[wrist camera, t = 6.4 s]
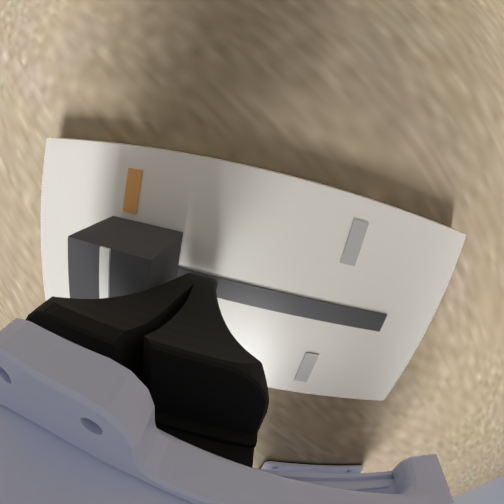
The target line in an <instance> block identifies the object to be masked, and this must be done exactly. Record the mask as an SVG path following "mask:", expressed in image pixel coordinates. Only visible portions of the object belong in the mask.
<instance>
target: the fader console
mask: <svg viewBox="0 0 504 504" xmlns="http://www.w3.org/2000/svg"><path fill="white" fill-rule="evenodd" d="M112 216H116V217H121V218H125V219H129V220H133V221H138V222H142V223H146V224H150V225H155V226H159V227H163V228H167V229H171V230H176V231H180V232H183V237H182V243H181V250H180V256H179V263H178V271H177V278H178V277H180V276H182V275H184V274H187V273H192V274H195V275H199V276H203V277H207V278H211V279H215V280H216V281H217V282H218V285H217V290H216V293H217V299H218V304H219V308H220V311H221V314H222V316H223V319H224V321H225V323H226V325H227V327H228V329H229V330H230V332H231V334H232V335H233V336H234V338H235V339H236V340H237V341H238V343H239V344H240V345H241V346H242V347H243V348H244V349H245V350H246V351H248V352H249V353H250V354H251V355H253V356H254V357H255V358H257V359H258V360H259V361H260V362H261V363H262V365H263V369H264V372H265V376H266V381H267V387H269V388H274V389H280V390H286V391H292V392H299V393H306V394H314V395H322V396H330V397H340V398H351V399H363V400H380V401H384V400H385V398H386V397H387V396H388V394H389V393H390V391H391V390H392V388H393V387H394V385H395V383H396V382H397V380H398V379H399V377H400V376H401V374H402V372H403V371H404V369H405V368H406V366H407V364H408V363H409V361H410V359H411V357H412V356H413V354H414V352H415V350H416V349H417V347H418V345H419V343H420V341H421V340H422V338H423V336H424V334H425V332H426V330H427V328H428V326H429V324H430V322H431V320H432V318H433V316H434V314H435V312H436V310H437V308H438V306H439V304H440V302H441V299H442V297H443V295H444V293H445V290H446V288H447V286H448V283H449V281H450V279H451V276H452V274H453V271H454V269H455V266H456V263H457V261H458V258H459V255H460V253H461V250H462V247H463V244H464V241H465V238H466V235H465V234H463V233H461V232H459V231H457V230H455V229H453V228H451V227H449V226H446V225H444V224H441V223H438V222H436V221H433V220H431V219H428V218H425V217H423V216H420V215H417V214H415V213H412V212H409V211H406V210H404V209H401V208H398V207H395V206H392V205H389V204H386V203H383V202H380V201H377V200H374V199H371V198H368V197H365V196H362V195H358V194H355V193H352V192H349V191H345V190H342V189H339V188H335V187H332V186H328V185H325V184H321V183H318V182H314V181H311V180H307V179H303V178H299V177H296V176H292V175H288V174H284V173H280V172H276V171H272V170H267V169H263V168H259V167H255V166H250V165H246V164H241V163H236V162H232V161H227V160H222V159H217V158H212V157H207V156H201V155H196V154H190V153H185V152H179V151H173V150H167V149H160V148H154V147H147V146H139V145H132V144H124V143H116V142H107V141H97V140H86V139H74V138H47V142H46V149H45V158H44V167H43V178H42V194H41V255H42V270H43V282H44V291H45V299H46V301H47V300H48V299H49V298H51V297H52V296H54V297H63V298H70V292H69V276H68V236H69V235H72V234H74V233H76V232H78V231H80V230H82V229H84V228H87V227H89V226H91V225H93V224H96V223H98V222H100V221H102V220H105V219H107V218H109V217H112Z"/></svg>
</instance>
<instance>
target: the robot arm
mask: <svg viewBox="0 0 504 504" xmlns="http://www.w3.org/2000/svg"><path fill="white" fill-rule="evenodd" d="M217 285H218V282H217V281H216V280H215V279H211V278H207V277H203V276H199V275H195V274H192V273H187V274H184V275H182V276H180V277H178V278H175V279H173V280H171V281H169V282H166V283H164V284H162V285H159V286H156V287H153V288H151V289H148V290H145V291H142V292H138V293H134V294H129V295H125V296H118V297H110V298H101V299H74V298H63V297H54V296H52V297H51V298H49V299H48V300H47V301H46V302H44V303H43V304H42V305H40V306H39V307H38V308H37V309H35V310H34V311H33V312H31V313H30V314H29V315H28V317H27V318H26V320H23V319H18V318H16V319H15V320H13V321H12V322H11V323H10V324H8V325H7V326H6V327H5V328H3V329H2V330H1V331H0V504H454V502H453V499H452V496H451V493H450V490H449V488H448V485H447V482H446V479H445V476H444V474H443V471H442V468H441V466H440V463H439V460H438V458H437V455H436V454H429V455H423V456H415V457H410V458H407V459H405V460H403V461H402V462H400V463H399V464H398V465H397V466H396V467H395V468H394V470H393V471H387V472H375V473H360V472H361V471H362V470H363V466H362V465H349V466H336V465H308V464H294V463H283V462H274V461H267V462H265V463H264V464H263V466H262V467H261V469H258V468H252V465H253V454H254V447H255V446H256V443H257V432H258V430H259V428H260V426H261V424H262V422H263V419H264V417H265V415H266V413H267V409H268V404H269V395H268V387H267V381H266V376H265V372H264V369H263V365H262V363H261V362H260V361H259V360H258V359H257V358H255V357H254V356H253V355H251V354H250V353H249V352H248V351H246V350H245V349H244V348H243V347H242V346H241V345H240V344H239V343H238V341H237V340H236V339H235V338H234V336H233V335H232V334H231V332H230V330H229V329H228V327H227V325H226V323H225V321H224V319H223V316H222V314H221V311H220V308H219V304H218V299H217V293H216V290H217Z"/></svg>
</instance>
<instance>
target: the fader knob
mask: <svg viewBox="0 0 504 504" xmlns="http://www.w3.org/2000/svg"><path fill="white" fill-rule="evenodd" d="M182 237H183V232H180V231H176V230H171V229H167V228H163V227H159V226H155V225H150V224H146V223H142V222H138V221H133V220H129V219H125V218H121V217H116V216H112V217H109V218H107V219H105V220H102V221H100V222H98V223H96V224H93V225H91V226H89V227H87V228H84V229H82V230H80V231H78V232H76V233H74V234H72V235H69V236H68V276H69V292H70V298H74V299H101V298H110V297H118V296H125V295H129V294H134V293H138V292H142V291H145V290H148V289H151V288H153V287H156V286H159V285H162V284H164V283H166V282H169V281H171V280H173V279H175V278H177V271H178V263H179V256H180V250H181V243H182Z"/></svg>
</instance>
